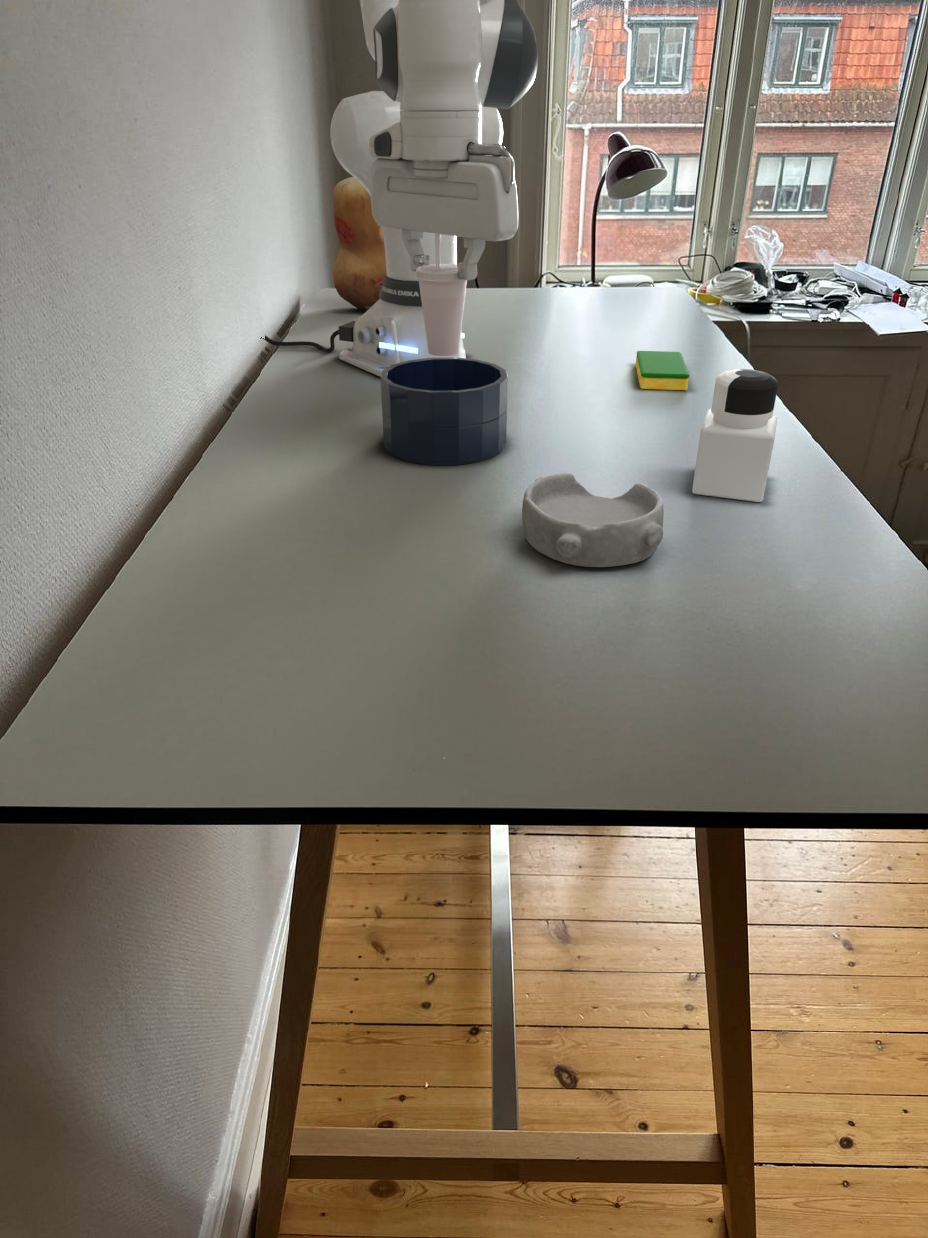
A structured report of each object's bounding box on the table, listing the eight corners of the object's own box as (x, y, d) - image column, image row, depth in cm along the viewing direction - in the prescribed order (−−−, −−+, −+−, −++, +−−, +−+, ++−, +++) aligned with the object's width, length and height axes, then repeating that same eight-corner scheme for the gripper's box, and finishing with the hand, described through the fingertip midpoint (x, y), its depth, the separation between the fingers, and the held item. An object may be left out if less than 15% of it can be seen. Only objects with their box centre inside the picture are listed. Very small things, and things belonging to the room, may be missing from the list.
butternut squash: (323, 308, 184) (312, 174, 171) (374, 299, 191) (368, 170, 178) (364, 319, 175) (356, 178, 162) (416, 309, 183) (412, 174, 170)
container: (765, 478, 104) (786, 367, 97) (762, 503, 98) (784, 387, 91) (698, 470, 106) (714, 361, 100) (691, 494, 100) (707, 379, 93)
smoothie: (416, 345, 111) (413, 224, 104) (467, 344, 111) (467, 223, 104) (418, 359, 105) (415, 232, 98) (472, 358, 106) (472, 231, 99)
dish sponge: (679, 366, 146) (681, 351, 145) (687, 390, 134) (689, 374, 133) (635, 364, 147) (636, 350, 145) (640, 389, 135) (641, 373, 134)
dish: (519, 512, 96) (521, 469, 93) (648, 514, 95) (653, 470, 93) (523, 576, 83) (524, 527, 81) (671, 578, 83) (677, 529, 80)
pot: (359, 444, 114) (354, 374, 109) (443, 416, 124) (442, 350, 119) (446, 475, 105) (445, 400, 100) (530, 442, 115) (532, 372, 110)
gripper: (533, 143, 93) (528, 282, 100) (398, 136, 105) (403, 261, 112) (493, 145, 89) (491, 290, 96) (358, 138, 101) (365, 268, 108)
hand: (442, 274), depth 104 cm, fingers closed on smoothie, 6 cm apart
